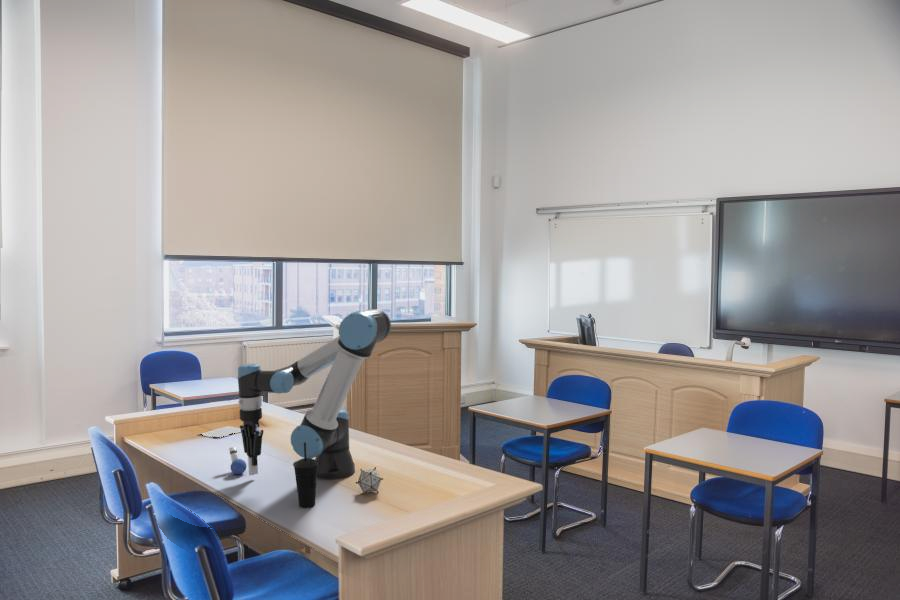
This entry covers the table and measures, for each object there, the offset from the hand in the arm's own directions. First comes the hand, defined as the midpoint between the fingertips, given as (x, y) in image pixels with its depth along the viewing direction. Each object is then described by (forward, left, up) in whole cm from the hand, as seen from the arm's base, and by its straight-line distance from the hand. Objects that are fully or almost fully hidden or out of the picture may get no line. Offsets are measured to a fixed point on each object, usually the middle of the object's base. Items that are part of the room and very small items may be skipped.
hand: (253, 474), depth 236 cm
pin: (+12, -2, -1) cm, 13 cm away
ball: (+9, -1, +1) cm, 9 cm away
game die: (-44, -13, -2) cm, 46 cm away
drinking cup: (-35, +6, -2) cm, 36 cm away
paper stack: (+60, -30, -3) cm, 67 cm away
